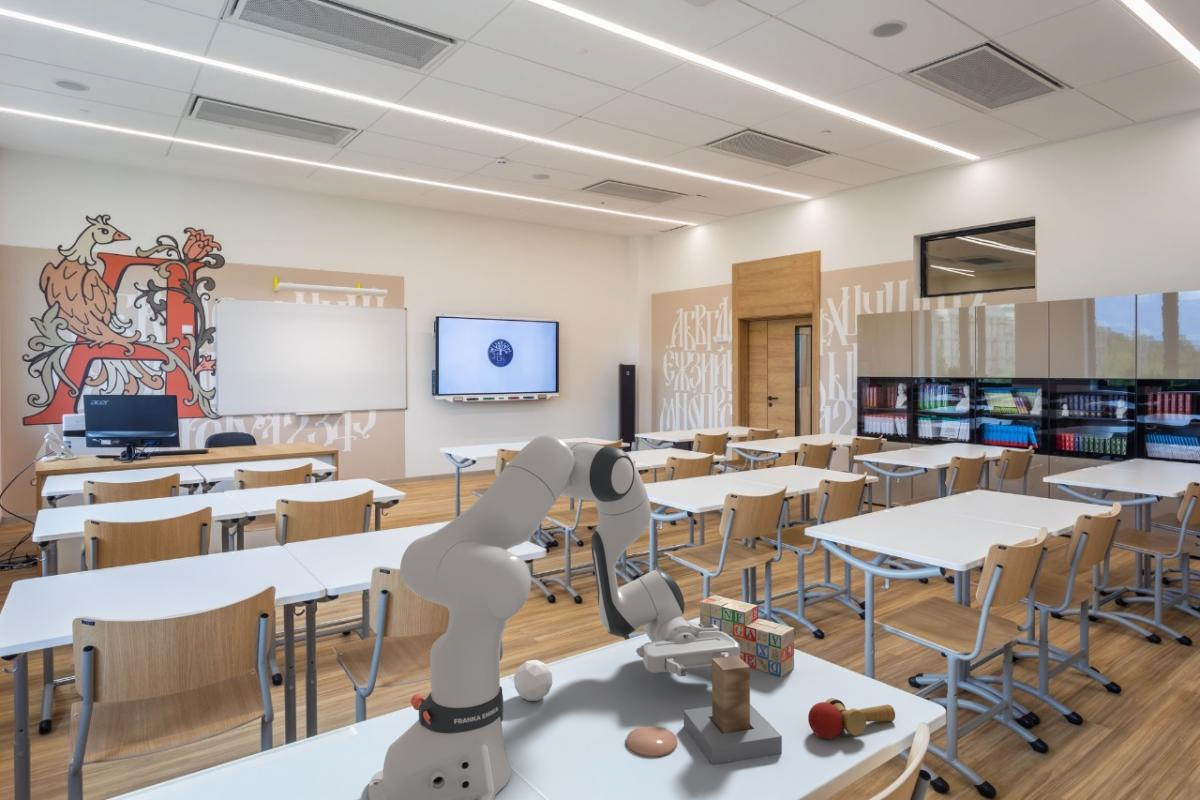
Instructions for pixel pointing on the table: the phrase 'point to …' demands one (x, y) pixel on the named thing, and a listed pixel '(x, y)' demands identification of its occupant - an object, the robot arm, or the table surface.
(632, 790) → the table surface
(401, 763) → the robot arm
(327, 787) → the table surface
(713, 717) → the walnut block
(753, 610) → the stack of blocks
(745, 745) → the pocket holder
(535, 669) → the geometric ball
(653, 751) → the terracotta coaster
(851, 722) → the kendama
